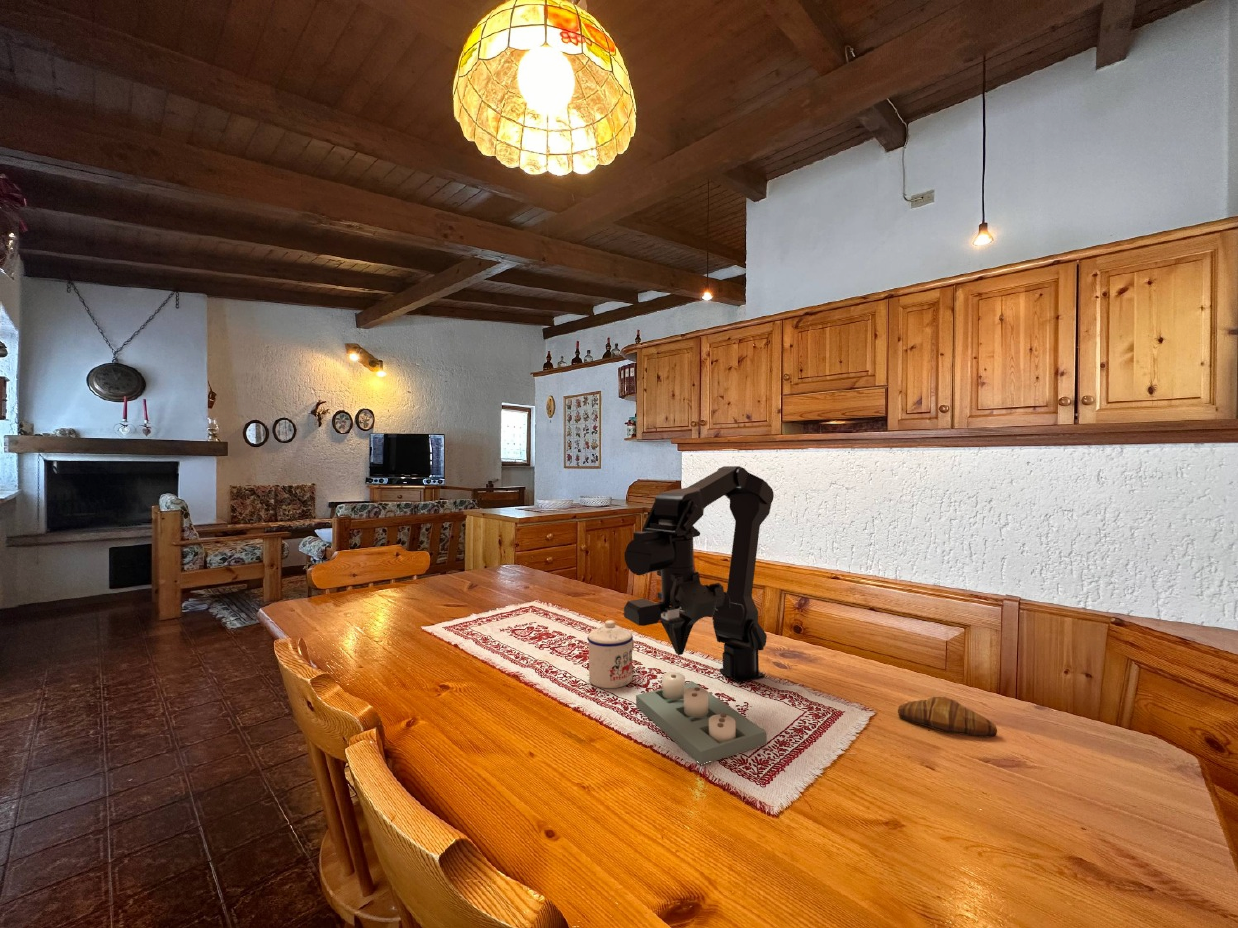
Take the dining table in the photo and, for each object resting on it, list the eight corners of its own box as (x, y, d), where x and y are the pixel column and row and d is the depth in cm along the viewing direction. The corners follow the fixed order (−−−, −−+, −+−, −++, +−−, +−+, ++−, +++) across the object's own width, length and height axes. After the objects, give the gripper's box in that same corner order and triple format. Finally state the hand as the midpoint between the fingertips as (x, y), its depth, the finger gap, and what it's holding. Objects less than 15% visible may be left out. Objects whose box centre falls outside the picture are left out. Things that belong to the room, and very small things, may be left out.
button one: (677, 687, 94) (677, 669, 94) (689, 696, 90) (689, 677, 90) (658, 692, 92) (658, 673, 92) (670, 701, 89) (669, 682, 89)
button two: (699, 703, 88) (699, 684, 88) (713, 714, 84) (713, 693, 84) (679, 709, 86) (679, 688, 86) (692, 719, 82) (692, 698, 82)
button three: (724, 732, 81) (724, 710, 81) (741, 744, 78) (740, 722, 78) (703, 738, 80) (703, 716, 79) (719, 751, 76) (719, 728, 76)
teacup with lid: (615, 693, 96) (614, 631, 96) (578, 682, 102) (577, 623, 102) (650, 672, 106) (649, 615, 106) (615, 662, 111) (614, 608, 111)
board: (693, 692, 96) (692, 681, 96) (766, 744, 78) (766, 731, 78) (636, 706, 91) (636, 694, 91) (700, 765, 73) (700, 751, 73)
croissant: (994, 728, 82) (994, 697, 82) (1000, 749, 76) (999, 715, 76) (898, 709, 89) (897, 680, 89) (896, 727, 83) (896, 696, 83)
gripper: (655, 581, 78) (658, 683, 78) (750, 566, 87) (752, 658, 87) (621, 568, 88) (623, 659, 88) (709, 555, 96) (711, 638, 97)
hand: (679, 654), depth 90 cm, fingers closed
